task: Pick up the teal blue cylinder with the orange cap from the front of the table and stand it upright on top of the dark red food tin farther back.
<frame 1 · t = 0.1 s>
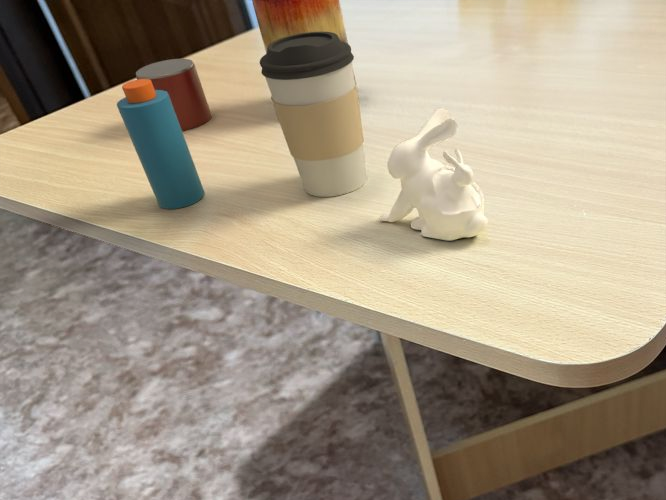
coffee cup: (336, 184, 75), on the table
tin: (184, 121, 96), on the table
vase: (320, 104, 96), on the table
teal blue cylinder: (181, 198, 76), on the table
rabbit figurine: (446, 222, 66), on the table
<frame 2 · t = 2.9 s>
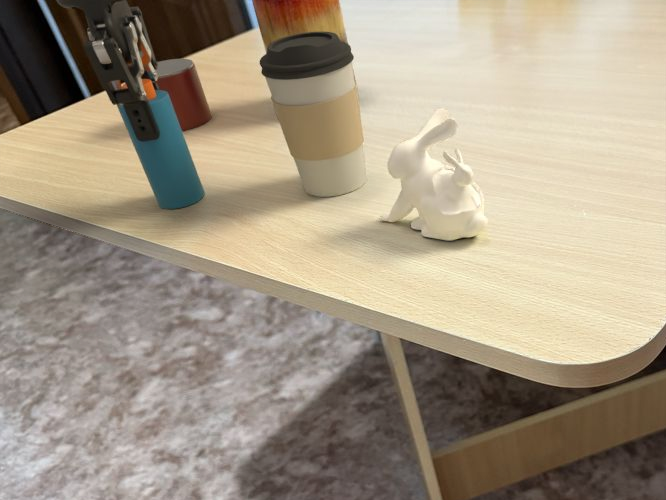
hand: (154, 128, 71), 8 cm above the table, tool pointing down, fingers closed on teal blue cylinder, 5 cm apart
teal blue cylinder: (181, 198, 76), on the table, touching gripper
everything else where it was.
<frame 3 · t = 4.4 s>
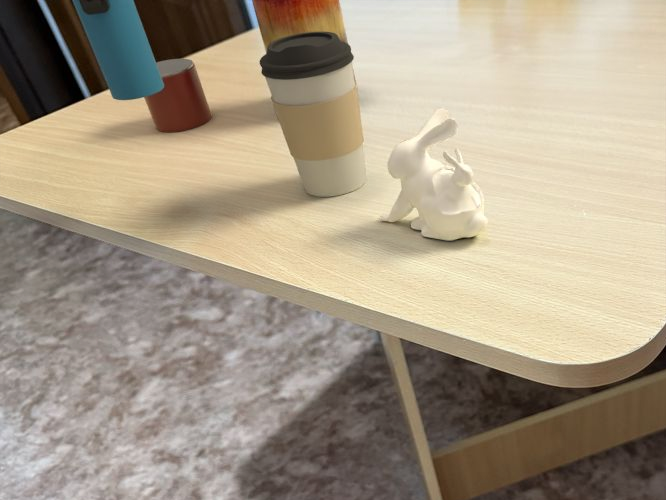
hand: (104, 5, 64), 20 cm above the table, tool pointing down, fingers closed on teal blue cylinder, 5 cm apart
teal blue cylinder: (138, 91, 69), point 12 cm above the table, touching gripper
everything else where it was.
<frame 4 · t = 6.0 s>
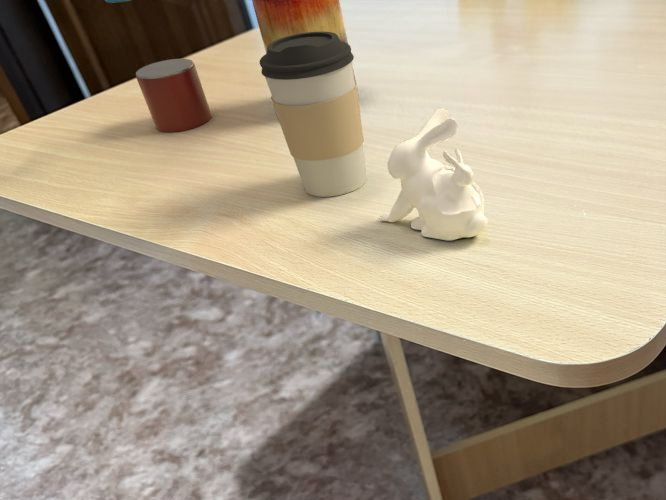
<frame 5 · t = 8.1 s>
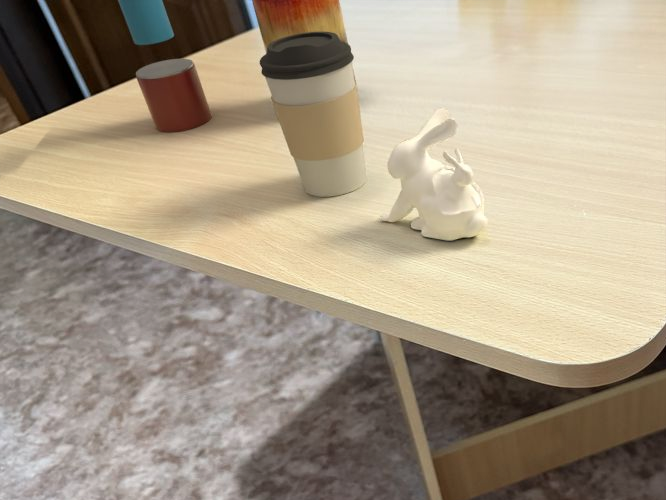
teal blue cylinder: (154, 39, 89), point 11 cm above the table, touching gripper
everything else where it was.
when the fingers open (15 cm above the table, at t = 9.5 s): teal blue cylinder stays where it is, resting on tin.
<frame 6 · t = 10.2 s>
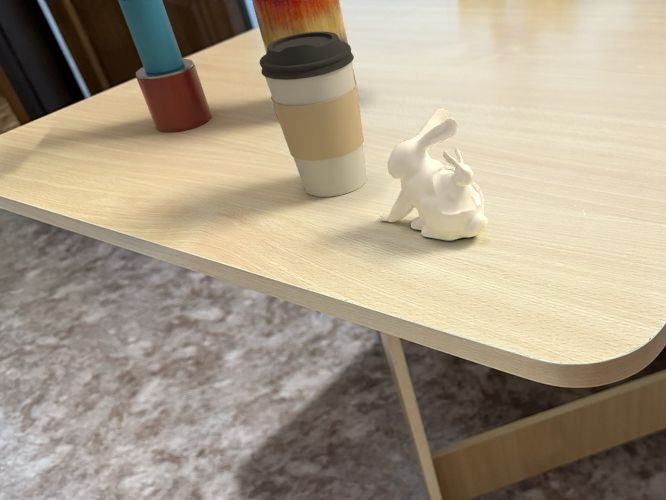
tin: (184, 121, 96), on the table, touching teal blue cylinder
teal blue cylinder: (164, 67, 91), point 7 cm above the table, touching tin
everything else where it was.
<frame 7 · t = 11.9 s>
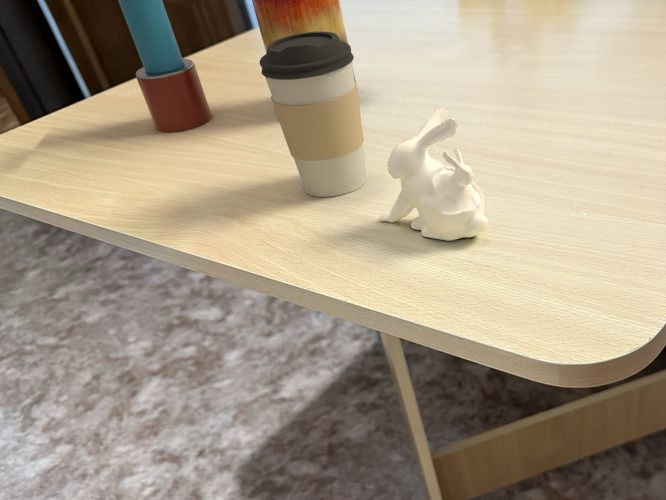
nothing on the table moved.
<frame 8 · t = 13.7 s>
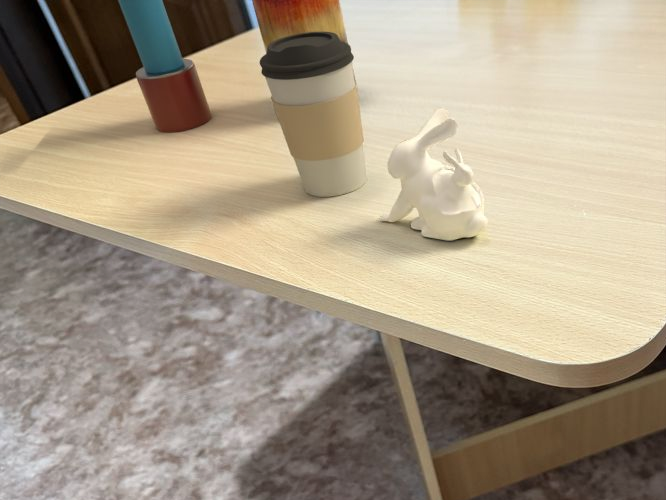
nothing on the table moved.
at the end: teal blue cylinder 0.0 cm off-centre on the tin, point 7.3 cm above the tin's base; teal blue cylinder tilted 0°; the gripper is holding nothing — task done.
